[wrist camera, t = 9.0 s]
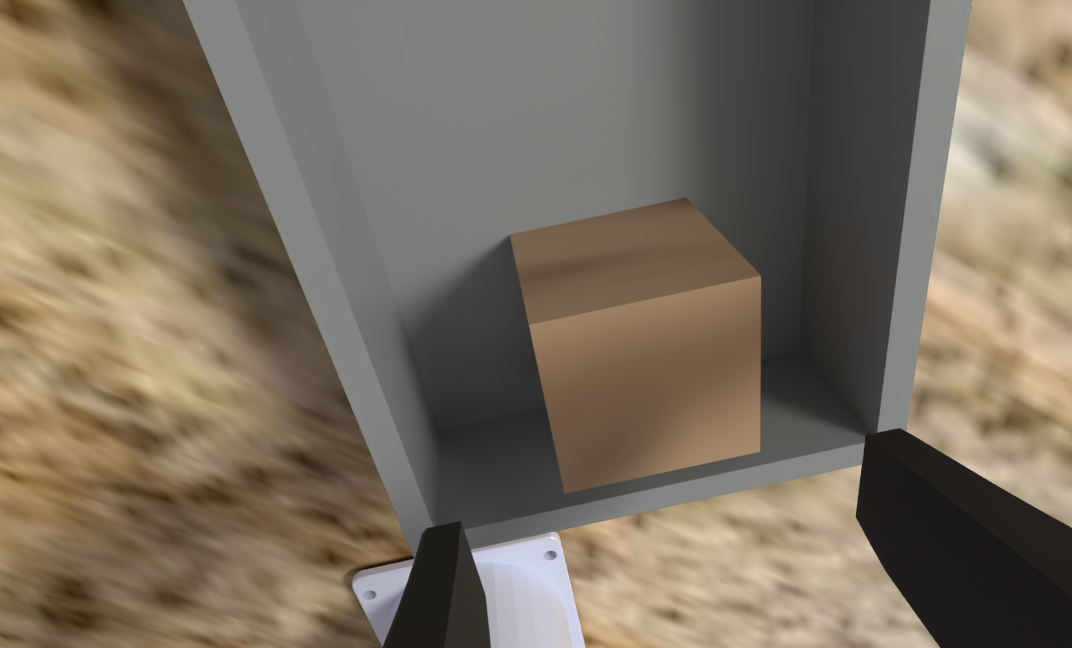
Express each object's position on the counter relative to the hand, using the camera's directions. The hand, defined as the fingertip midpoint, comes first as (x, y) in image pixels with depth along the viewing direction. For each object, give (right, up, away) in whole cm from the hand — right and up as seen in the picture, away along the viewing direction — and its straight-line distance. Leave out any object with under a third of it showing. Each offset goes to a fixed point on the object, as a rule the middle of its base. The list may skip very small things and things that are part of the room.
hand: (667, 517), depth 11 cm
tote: (-1, +8, +6) cm, 10 cm away
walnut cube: (0, +4, +8) cm, 9 cm away
